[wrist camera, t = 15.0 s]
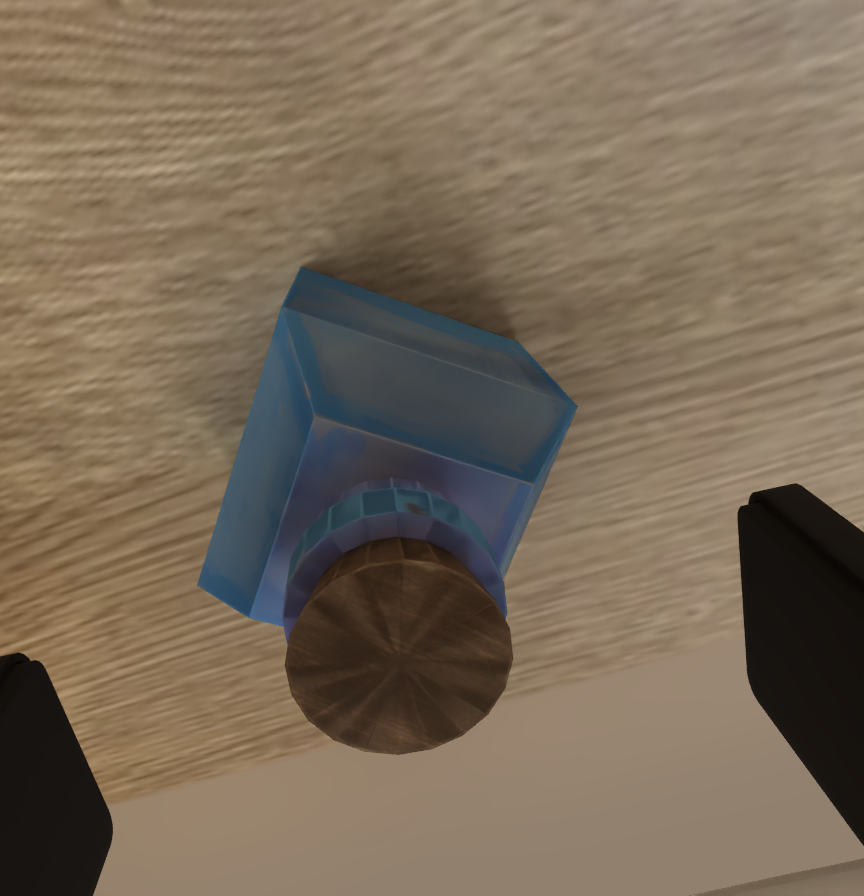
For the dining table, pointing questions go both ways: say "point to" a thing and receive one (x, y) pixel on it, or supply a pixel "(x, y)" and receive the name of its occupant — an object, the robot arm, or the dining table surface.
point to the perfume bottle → (385, 510)
